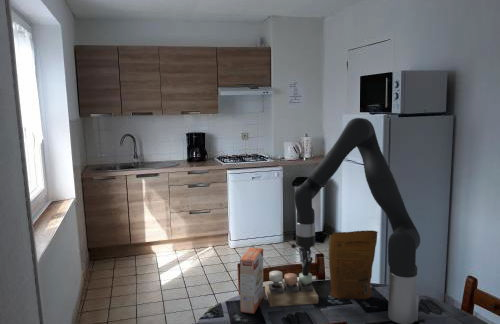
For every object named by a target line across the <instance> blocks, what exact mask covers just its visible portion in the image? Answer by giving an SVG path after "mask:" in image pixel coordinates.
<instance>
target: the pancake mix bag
mask: <svg viewBox="0 0 500 324" xmlns="http://www.w3.org/2000/svg"><path fill="white" fill-rule="evenodd" d="M377 241H378V231H376V230H355V231H354V230H353V231H340V232H337V231H336V232H332V234H329V237H328V266H329V268H328V269H329V279H330V287H331V290H330V294H329V295H330V297H333V298H334V299H340V300H367V299H370V298H371V297H372V289H371V281H372V275H373V266H374V260H375V256H376V255H375V254H376V246H377Z"/></svg>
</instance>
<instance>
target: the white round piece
mask: <svg viewBox="0 0 500 324" xmlns="http://www.w3.org/2000/svg"><path fill="white" fill-rule="evenodd" d="M268 274H269V281H270V282H272V283H273V285H274V286H278V285H279V283H281V282H282V281H283V280H284V279H283V276H284V275H283V272H282V271H280V270H272V271H269V273H268Z"/></svg>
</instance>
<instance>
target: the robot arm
mask: <svg viewBox="0 0 500 324" xmlns="http://www.w3.org/2000/svg"><path fill="white" fill-rule="evenodd" d="M356 148H357V150H358V152H359V154H360V156H361V159H362V163H363V164H362V165H363V169H364V174H365V181H366V182H367V186H368V188H369V191H370V193H371V195H372V197H373V199H374V201H375V202H376V204H377V205H378V206H379V207H380V208H381V209H382V210H383V212H384V213H385V215H386V217H387V220H388V221H389V224H390V226H391V229H392V233H391V234H390V236H389V237H388V241H387V242H388V243H387V262H388V263H387V264H388V267H389V270H388V271H389V275H388V278H389V279H388V302H387V303H388V306H387V307H388V308H387V317H388V319H389V320H390V321H392V322H394V323H397V324H413V323H415V322H418V321H419V319H418V317H419V303H420V302H419V300H420V296H419V295H418V293H417V292H418V291H417V290H418V289H417V288H418V266H417V263H416V259H417V258H416V257H417V255H416V254H417V249H418V248H419V247H420V243H421V236H420V233H419V231H418V229H417V228H416V225H415V224H414V222H413V220H412V218H411V216H410V215H409V213H408V210H407V208H406V206H405V202H404V200H403V197H402V195H401V193H400V190H399V187H398V184H397V182H396V179H395V177H394V174H393V173H392V171H391V169H390V166H389V164H388V162H387V160H386V158H385V156H384V154H383V152H382V150H381V147H380V144H379V141H378V137H377V133H376V130H375V126H374V125H373V123H372V122H371V121H370V120H369V119H367V118H364V117H356V118H353V119H351V120H349V121H348V122H347V124H346V125H345V127H344V129H343V130H342V132H341V133H340V135H339V137H338V138H337V140H336V141H335V143H334V144H333V146H332V147H331V148H330V149H329V151H328V152H327V153H326V155H325V156H324V157H323V158H322V159H321V160H320V161H319V162H318V163H317V165H316V166H315V167H314V168H313V170H312V171H311V173H310V174H309V176H308V177H307V178H306V180H305V181H304V182H303V183H301V184H300V185H299V186H298V185H297V187H296V188H295V191H294V203H295V210H296V227H295V244H296V246H298V247H299V248H298V253H299V260H300V263H301V267H302V270H301V271H302V272H301V273H302V274H303V275H304V276H308V274H309V273H310V272H309V268H310V267H311V266H312V263H313V257H312V250H311V248H313V247H314V246H315V245H316V225H315V223H316V222H315V220H316V218H315V213H316V212H315V209H314V208H313V199H314V198H315V197H316V196H317V195H318V193H319V192H320V191H321V189H322V188H323V186H325V185H326V184H327V183H328V181H330V179H332V177H333V176H334V175H335V173H336V172H337V171H338V170H339V168H341V167H340V166H341V165H342V163H343V162H344V160H345V159H346V158H347V157H348V155H349V154H350V153H351V152H353V150H354V149H356Z"/></svg>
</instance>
